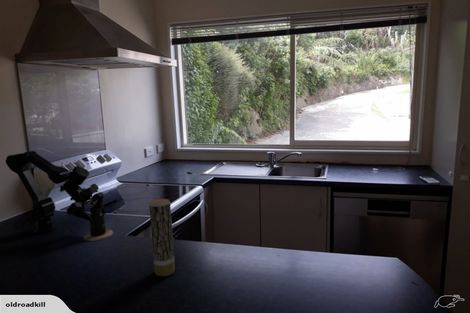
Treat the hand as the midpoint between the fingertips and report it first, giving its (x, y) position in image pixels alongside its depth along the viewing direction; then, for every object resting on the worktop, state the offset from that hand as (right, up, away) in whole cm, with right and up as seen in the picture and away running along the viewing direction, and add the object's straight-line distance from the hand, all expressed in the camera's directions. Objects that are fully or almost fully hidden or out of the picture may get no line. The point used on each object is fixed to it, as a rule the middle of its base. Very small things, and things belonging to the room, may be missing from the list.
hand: (99, 217), depth 149 cm
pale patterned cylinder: (+36, -13, -33) cm, 51 cm away
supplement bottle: (-1, -8, +2) cm, 8 cm away
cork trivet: (-1, -9, +2) cm, 9 cm away
